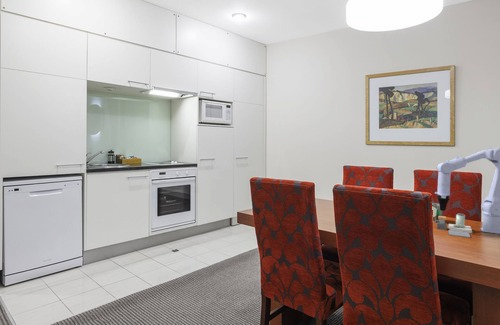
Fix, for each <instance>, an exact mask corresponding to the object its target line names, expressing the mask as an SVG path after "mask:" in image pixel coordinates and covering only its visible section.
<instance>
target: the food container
mask: <svg viewBox="0 0 500 325" xmlns="http://www.w3.org/2000/svg"><path fill="white" fill-rule="evenodd" d="M431 203H432V210H433V221H432V222H433V223H436V224H437V222H439V219H438V216H442V213H443V211H441V210H440V204H439V203H436V202H431Z"/></svg>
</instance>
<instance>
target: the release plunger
mask: <svg viewBox="0 0 500 325" xmlns="http://www.w3.org/2000/svg"><path fill="white" fill-rule="evenodd" d="M438 219H439V224H445V223H446V220H447V216H443V215H441V216H438Z"/></svg>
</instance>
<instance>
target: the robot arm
mask: <svg viewBox="0 0 500 325" xmlns="http://www.w3.org/2000/svg"><path fill="white" fill-rule="evenodd" d="M481 159H485V160H488V161H489V162H492V164H493V165H494V166H495V170H494V174H493V178H492V180H491V181H492V182H491V185H490V189H489V192H488V195H487V196H486V197H485V198H484V200H483V202H482V203H481V205H480V207H481V208H480V209H481V210H482V227H480V230H481V232H484V233H490V234H491V233H492V234H499V235H500V148H492V147H490V148H486V149H483V150H480V151H478V152H475V153H472V154H470V155H467V156H466V157H462V156H455V157H454V158H453V159H451V160H447V159H446V160H445V162H440V163H438V165H437V167H436V170H437V172H438V173H437V174H438V176H437V191H435V192H434V194H435V195H436V194H437V195H436V197H437V198H436V199H437V200H438V201H437V202H438V204H440V210H441V211H442V212H443V211H444V212H446V209H447V205H448V203H449V201H450V196H451V174H452V173H453V171H454V172H455V171H457V170H459V169H462V168H465V167H466V166H467V164H469V163H473V162H476V161H479V160H481Z"/></svg>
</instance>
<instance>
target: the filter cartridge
mask: <svg viewBox="0 0 500 325" xmlns="http://www.w3.org/2000/svg"><path fill="white" fill-rule="evenodd" d="M465 221H466V215H465V214H464V213H457V214H455V225H456V228H464V226H466V225H465V223H466V222H465Z"/></svg>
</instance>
